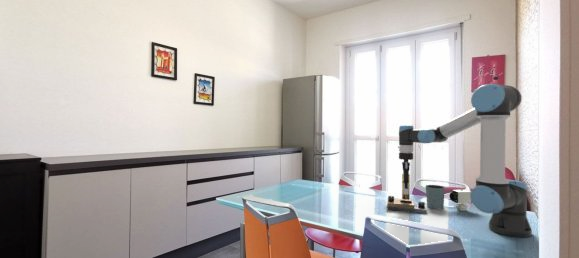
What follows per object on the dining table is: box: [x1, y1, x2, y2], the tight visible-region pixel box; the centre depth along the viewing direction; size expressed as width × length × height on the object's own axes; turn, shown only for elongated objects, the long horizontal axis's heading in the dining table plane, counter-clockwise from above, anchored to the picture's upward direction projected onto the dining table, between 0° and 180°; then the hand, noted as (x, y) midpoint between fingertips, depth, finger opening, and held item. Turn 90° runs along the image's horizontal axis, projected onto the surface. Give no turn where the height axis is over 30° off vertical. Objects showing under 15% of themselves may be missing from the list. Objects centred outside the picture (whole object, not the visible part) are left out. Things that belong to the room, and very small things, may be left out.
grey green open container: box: [425, 184, 446, 210], centre depth 163 cm, size 10×10×12 cm
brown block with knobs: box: [386, 195, 428, 215], centre depth 160 cm, size 12×20×6 cm, turn 70°
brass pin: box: [401, 173, 411, 200], centre depth 160 cm, size 4×4×14 cm
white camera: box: [449, 188, 473, 212], centre depth 157 cm, size 6×12×12 cm, turn 94°
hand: (405, 193), depth 160 cm, fingers closed on brass pin, 4 cm apart
